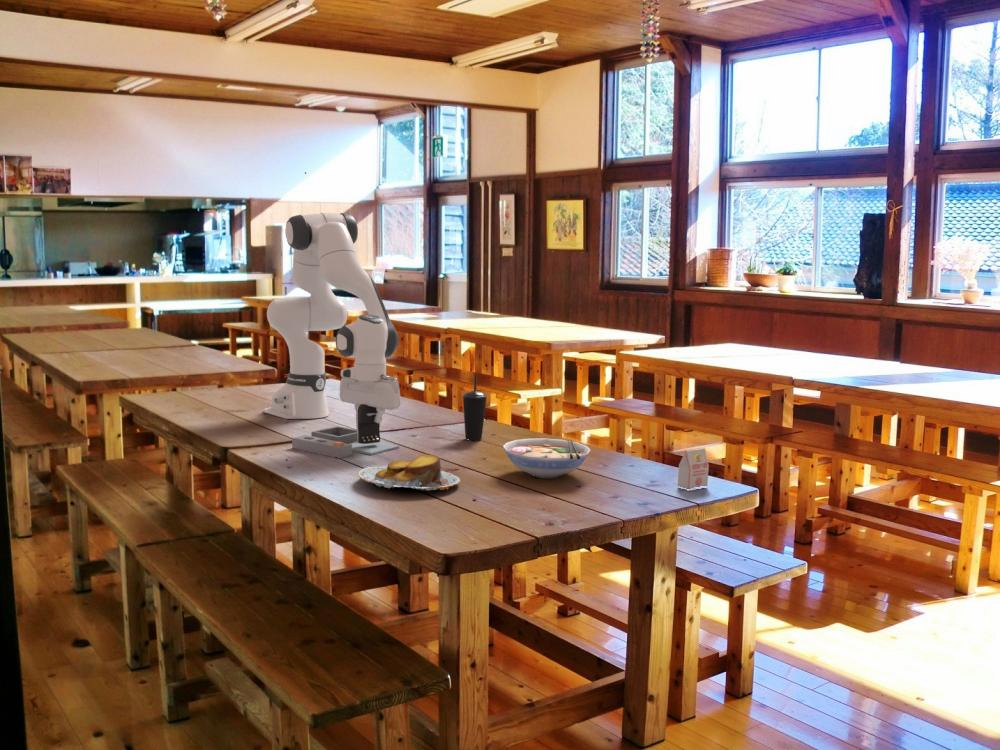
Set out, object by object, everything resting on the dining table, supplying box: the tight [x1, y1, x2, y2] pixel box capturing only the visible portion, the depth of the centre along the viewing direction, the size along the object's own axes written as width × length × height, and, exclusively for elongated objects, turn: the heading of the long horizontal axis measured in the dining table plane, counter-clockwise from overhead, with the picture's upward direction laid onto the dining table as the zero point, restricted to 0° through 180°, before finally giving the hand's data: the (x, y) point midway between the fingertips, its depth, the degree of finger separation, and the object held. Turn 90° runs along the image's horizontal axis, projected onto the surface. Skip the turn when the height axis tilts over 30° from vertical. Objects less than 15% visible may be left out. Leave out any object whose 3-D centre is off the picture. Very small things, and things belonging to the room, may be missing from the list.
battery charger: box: [355, 404, 381, 444], centre depth 274 cm, size 7×4×11 cm, turn 126°
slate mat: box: [351, 441, 400, 456], centre depth 276 cm, size 12×12×1 cm
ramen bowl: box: [502, 437, 591, 479], centre depth 252 cm, size 25×23×8 cm
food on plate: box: [357, 453, 461, 492], centre depth 239 cm, size 25×25×7 cm
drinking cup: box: [461, 373, 488, 441], centre depth 291 cm, size 8×8×20 cm
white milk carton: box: [677, 448, 710, 489], centre depth 244 cm, size 4×7×10 cm, turn 123°
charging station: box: [291, 425, 357, 459], centre depth 277 cm, size 22×22×4 cm
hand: (369, 421), depth 274 cm, fingers closed on battery charger, 5 cm apart
